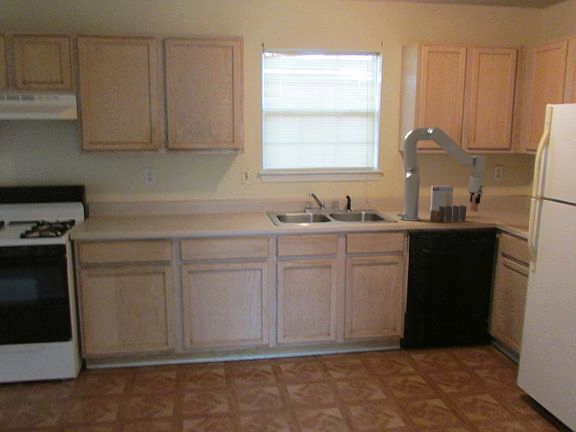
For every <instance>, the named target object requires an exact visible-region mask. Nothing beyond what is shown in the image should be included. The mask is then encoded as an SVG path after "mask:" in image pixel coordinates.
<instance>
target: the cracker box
mask: <svg viewBox="0 0 576 432" xmlns="http://www.w3.org/2000/svg"><path fill="white" fill-rule="evenodd" d="M430 190H431V191H430V207H429V208H430V209H429V210H430V212H429V214H430V216H431V210H435V211H438V212H439V206H444V207H446V206H451V207H453V198H454V197H453V195H454V186H453V185H440V184H439V185H436V184H435V185H433V184H432V185H431V189H430ZM445 217H446V209H445Z"/></svg>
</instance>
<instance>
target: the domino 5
mask: <svg viewBox="0 0 576 432" xmlns="http://www.w3.org/2000/svg"><path fill="white" fill-rule="evenodd" d="M475 197H476V194H475V195H472V202H470V203H471V204H470V211H472V212H477V213H478V209H479V208H478V207H479V204H475Z"/></svg>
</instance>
